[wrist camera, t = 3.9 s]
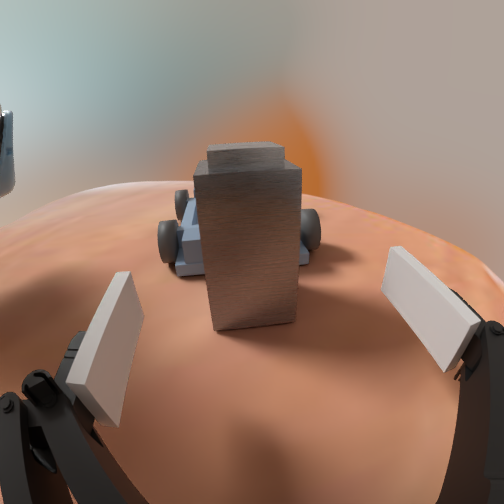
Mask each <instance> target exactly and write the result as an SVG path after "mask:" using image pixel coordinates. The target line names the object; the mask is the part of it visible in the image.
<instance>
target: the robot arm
mask: <svg viewBox="0 0 504 504" xmlns="http://www.w3.org/2000/svg"><path fill="white" fill-rule="evenodd" d="M14 185H15V172H14V159H13V113H12V111H3V112H2V111H1V105H0V198H1V197H3V196H5V195H7V194H9V193H10V192H11V191H12V190H13V188H14ZM381 291H382V292H383V293H384V295H385V296H386V297H387V298H388V300H389V301H390V302H391V303H392V304H393V306H394V307H395V308H396V309H397V311H398V312H399V313H400V314H401V316H402V317H403V318H404V320H405V321H406V322H407V323H408V325H409V326H410V327H411V329H412V330H413V331H414V332H415V334H416V335H417V336H418V338H419V339H420V340H421V342H422V343H423V344H424V346H425V347H426V349H427V350H428V351H429V353H430V354H431V355H432V357H433V358H434V360H435V361H436V362H437V364H438V365H439V367H440V368H441V369H442V371H443V372H444V373H445V372H447V371H449V370H451V369H453V368H455V367H456V365H457V363H458V362H459V360H460V359H462V360H463V361H464V363H463V364H462V366H461V367H460V369H459V371H458V372H457V374H456V375H455V377H454V380H456V379H457V377H458V376H459V374H461V377H460V379H459V380H458V381H460V394H459V405H458V414H457V421H456V428H455V434H454V440H453V445H452V450H451V455H450V460H449V464H448V468H447V472H446V476H445V479H444V483H443V486H442V489H441V493H440V496H439V498H438V501H437V502H436V504H504V327H503V326H502V325H501V324H500V323H498V322H496V321H488V322H485V320H484V319H483V318H482V317H481V316H480V315H479V314H478V313H477V312H476V311H475V310H474V309H473V308H472V307H471V306H470V305H468V303H467V302H466V301H465V300H463V298H462V297H461V296H460V295H459V294H458V293H457V292H455V291H453V290H452V289H450V288H448V287H447V286H446V285H445V284H444V283H443V282H442V281H441V280H439V279H438V278H437V277H436V276H435V275H434V274H433V273H432V272H431V271H430V270H428V269H427V268H426V267H425V266H424V265H423V264H422V263H420V262H419V261H418V260H417V259H416V258H415V257H414V256H412V255H411V254H410V253H409V252H408V251H406V250H405V249H404V248H403V247H402V246H395V247H390V250H389V255H388V260H387V265H386V269H385V274H384V278H383V282H382V287H381ZM143 319H144V314H143V311H142V308H141V305H140V301H139V298H138V295H137V292H136V288H135V285H134V282H133V278H132V275H131V271H127V272H116V274H115V276H114V278H113V279H112V281H111V283H110V285H109V287H108V289H107V291H106V293H105V295H104V297H103V299H102V301H101V303H100V305H99V307H98V309H97V311H96V313H95V315H94V317H93V319H92V321H91V323H90V325H89V327H88V330H87V331H79V332H78V333H77V334H76V335H75V337H74V338H73V339H72V340H71V342H70V344H69V346H68V348H67V349H68V350H67V351H66V353H65V355H64V358H63V360H62V362H61V364H60V366H59V369H58V371H57V373H56V376H55V378H54V379H53V378H52V377H51V375H50V374H49V373H48V372H47V371H45V370H35V371H33V372H31V373H30V374H28V375H27V377H26V378H25V379H24V381H23V384H22V393H23V394H24V395H25V396H26V397H27V398H28V399H27V400H21V399H20V398H19V397H18V396H17V394H15V393H13V392H7V393H5V394H3V395H2V396H1V397H0V486H1V492H2V497H3V502H4V504H73V502H72V499H71V496H70V492H69V489H70V490H71V492H72V494H73V496H74V497H75V499H76V501H77V502H78V504H149V503H148V502H147V501H146V500H145V498H144V497H143V496H142V495H141V494H140V492H139V491H138V490H137V489H136V487H135V486H134V485H133V484H132V482H131V481H130V480H129V478H128V477H127V476H126V474H125V473H124V472H123V470H122V469H121V468H120V466H119V465H118V463H117V462H116V460H115V459H114V457H113V456H112V454H111V453H110V451H109V450H108V448H107V447H106V445H105V444H104V442H103V440H102V439H101V437H100V435H99V434H98V432H97V430H96V429H95V428H94V427H93V423H94V419H96V420H97V421H98V422H99V424H100V425H101V426H108V427H117V428H119V424H120V418H121V413H122V407H123V402H124V397H125V393H126V388H127V383H128V379H129V374H130V370H131V366H132V361H133V357H134V353H135V349H136V345H137V341H138V338H139V334H140V330H141V326H142V323H143ZM67 485H68V486H67ZM68 487H69V489H68Z"/></svg>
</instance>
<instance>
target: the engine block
mask: <svg viewBox="0 0 504 504" xmlns="http://www.w3.org/2000/svg"><path fill="white" fill-rule="evenodd" d="M193 178H194V188H195V198H196V207H197V216H198V225H199V233H200V241H201V249H202V256H203V264H204V271H205V278H206V284H207V291H208V298H209V304H210V310H211V316H212V322H213V328H214V331H216V330H227V329H237V328H247V327H256V326H264V325H272V324H280V323H288V322H295V319H296V305H297V290H298V274H299V254H300V230H301V194H302V169H301V168H299V167H298V166H296V165H294V164H292V163H291V162H289V161H287V160H285V154H284V147H283V146H281V145H278V144H275V143H273V142H246V143H230V144H229V143H228V144H215V145H209V146H208V149H207V160H202V161H199V163H198V165H197V168H196V170H195V173H194V175H193Z"/></svg>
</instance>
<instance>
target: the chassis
mask: <svg viewBox="0 0 504 504" xmlns="http://www.w3.org/2000/svg"><path fill="white" fill-rule="evenodd" d="M175 209H176V215H177V218H178V220H182V223H181V226H178V223H177V220H169V221H160V222H159V225H158V247H159V253H160V257H161V259H162V261H163V263H172V262H176V263H175V268H176V273H177V276H188V275H199V274H205V271H204V264H203V256H202V249H201V241H200V233H199V225H198V216H197V207H196V198H195V188H194V198H189V194H188V190H179V191H176V192H175ZM320 240H321V226H320V220H319V217H318V214H317V212H316V211H315V210H314V209H301V230H300V254H299V265H302V264H309V252H308V250H312V249H317V248H318V247H319V245H320Z"/></svg>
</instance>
